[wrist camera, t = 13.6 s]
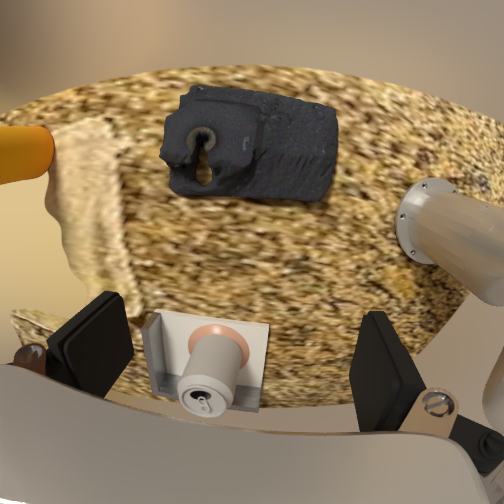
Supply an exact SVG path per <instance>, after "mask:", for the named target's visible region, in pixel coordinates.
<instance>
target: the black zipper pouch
mask: <svg viewBox="0 0 504 504" xmlns="http://www.w3.org/2000/svg"><path fill="white" fill-rule="evenodd" d="M337 131H338V120H337V118H336V115H335V109H334V108H331V107H328V106H324V105H322V104H319V103H312V102H305V101H303V100H301V99H295V98H293V97H286V96H283V95H278V94H273V93H267V92H261V91H253V90H245V89H236V88H224V87H212V86H207V85H204V86H199V85H193V86H191V87H190V91H189V92H188V93H187V94H186V95H181V96H180V105H179V110H176V111H175V112H174V113H173V114H171V115H169V116H167V117H166V120H165V125H164V140H163V145H162V147H161V148H160V155H159V157H160V158H161V159H163V160H164V161H165V162H166V164H167V165H168V166H169V167H172V169H171V170H170V173H169V174H170V181H169V182H170V189H171V190H173V191H174V192H175V193H178V194H180V193H181V194H184V195H203V196H241V197H242V198H253V199H264V198H266V199H267V198H273V199H280V198H281V199H295V200H299V201H303V202H310V201H316V202H317V201H320V200H321V199H322V198H323V197H324V195H325V194H326V192H327V191H328V189H329V186H330V182H331V179H332V174H333V171H334V169H335V157H336V153H337V148H338V144H337V142H338V137H337V133H336V132H337ZM203 143H204V151H205V153H206V154H207V160H208V165H209V167H210V168H211V171H212V181H211V182H210V183H208V184H207V185H203V184H200V183H199V182H198V181H197V179H196V166H197V164H198V162H199V157H198V154H199V152H200V147H201V144H203Z"/></svg>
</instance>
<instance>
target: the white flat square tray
mask: <svg viewBox="0 0 504 504" xmlns="http://www.w3.org/2000/svg"><path fill="white" fill-rule="evenodd" d="M154 312H158V313H161V321H162V332H163V342H164V351H165V359H166V367H167V373H170V374H175V375H180V376H182V374H183V372H184V369H185V367H186V365H187V363H188V360H189V358H190V356H191V354H192V351H193V349H194V347H195V344H196V343H197V341H198V340H199V339H200V338H202V337H203V336H206V335H210V334H219V335H223V336H226V337H228V338H230V339H232V340H233V341H234V342H235V343H236V344H237V345H238V346H239V348H240V350H241V355H242V358H241V364H240V369H239V374H238V379H237V384H236V385H242V386H251V387H260V388H261V384H262V377H263V370H264V362H265V355H266V347H267V339H268V331H269V324H264V323H254V322H245V321H237V320H229V319H221V318H213V317H206V316H199V315H192V314H185V313H179V312H173V311H167V310H161V309H156V310H155V311H154Z"/></svg>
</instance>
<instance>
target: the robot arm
mask: <svg viewBox="0 0 504 504" xmlns="http://www.w3.org/2000/svg"><path fill="white" fill-rule="evenodd" d="M422 185H423V187H422ZM401 215H402V217H400V216H401ZM395 230H396V236H397V239H398V242H399V244H400V246H401V248H402V249H403V251H404V252H405V253H406V254H407V255H408V256H409V257H410V258H412V259H413V260H415V261H416V262H419V263H422V264H437V265H438V266H440V267H441V268H442V269H443V270H445V271H446V272H447V273H449V274H450V275H451V276H452V277H454V278H455V279H456V280H457V281H458V282H460V283H461V284H462V285H463V286H465V287H466V288H467V289H468V290H469V291H471V292H472V293H473V294H474V295H476V296H477V297H478V298H479V299H480V300H482V301H483V302H485V303H487V304H489V305H492V306H504V208H503V207H500V206H497V205H494V204H491V203H487V202H484V201H481V200H477V199H474V198H470V197H467V196H463V195H461V194H460V192H459V191H458V190H457V188H456V187H455V186H454V185H453V184H451V183H450V182H448V181H446V180H444V179H441V178H431V177H429V178H424V179H421V180H419V181H417V182H415V183H414V184H413V185H412V186H410V187H409V188H408V189H407V191H406V192H405V193H404V195H403V196H402V198H401V200H400V202H399V205H398V207H397V211H396V216H395ZM411 251H412V252H411ZM46 341H47V344H48V347H49V348H48V349H47V350H46V348H45V347H44V346H43V345H42V344H39V343H30V344H27V345H25V346H23V347H21V348H20V349H18V351H17V352H16V353H15V356H14V360H13V363H8V364H0V504H504V347H503V350H502V352H501V354H500V356H499V358H498V360H497V362H496V364H495V366H494V368H493V370H492V372H491V374H490V376H489V379H488V381H487V383H486V386H485V389H484V392H483V399H482V404H483V411H484V414H485V417H486V419H487V420H488V422H489V423H490V425H491V426H492V427H493V428H494V429H495V430H496V431H494V430H492V429H490V428H488V427H485V426H483V425H481V424H478V423H476V422H474V421H472V420H470V419H467V418H465V417H463V416H461V415H459V414H457V413H458V409H459V405H458V402H457V400H456V398H455V397H454V396H453V395H452V394H451V393H450V392H448V391H446V390H444V389H440V388H430V389H426V386H425V384H424V382H423V380H422V378H421V376H420V374H419V372H418V370H417V368H416V366H415V364H414V362H413V360H412V358H411V356H410V354H409V352H408V350H407V349H406V347H405V346H404V345H403V344H402V343H401V341H400V339H399V337H398V335H397V333H396V331H395V330H394V328H393V326H392V324H391V322H390V320H389V319H388V317H387V315H386V313H385V312H384V311H369V312H368V314H367V315H364V316H363V318H362V322H361V327H360V331H359V336H358V340H357V344H356V348H355V352H354V356H353V360H352V364H351V367H350V371H349V380H350V385H351V390H352V394H353V399H354V404H355V409H356V414H357V419H358V424H359V430H360V432H343V433H308V432H306V433H305V432H304V433H303V432H279V431H265V430H254V429H244V428H236V427H227V426H220V425H214V424H208V423H201V422H196V421H191V420H185V419H180V418H176V417H171V416H166V415H162V414H158V413H154V412H150V411H146V410H142V409H138V408H135V407H131V406H127V405H124V404H121V403H117V402H114V401H111V400H108V399H104V397H105V395H106V394H107V393H108V391H109V390H110V388H111V387H112V386H113V384H114V383H115V381H116V380H117V379H118V377H119V376H120V375H121V373H122V372H123V370H124V369H125V368H126V366H127V365H128V363H129V362H130V361H131V359H132V358H133V356H134V348H133V343H132V339H131V335H130V330H129V326H128V321H127V316H126V311H125V306H124V301H123V298H122V297H121V296H120V295H119V293H118V292H111V291H104V292H103V293H102V294H100V295H99V296H98V297H97V298H95V299H94V300H93V301H92V302H90V303H89V304H88V305H87V306H86V307H84V308H83V309H82V310H81V311H80V312H78V313H77V314H76V315H75V316H74V317H73V318H71V319H70V320H69V321H68V322H66V323H65V324H64V325H63V326H62V327H61V328H59V329H58V330H57V331H56V332H55V333H54V334H53V335H51V336H50V337H49V338H48V339H47V340H46Z"/></svg>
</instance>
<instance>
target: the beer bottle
mask: <svg viewBox="0 0 504 504" xmlns="http://www.w3.org/2000/svg"><path fill="white" fill-rule="evenodd" d="M53 154H54V143H53V139H52V136H51V134H50V132H49V131H48V130H47V129H45V128H43V127H39V126H7V127H0V185H1V184H6V183H11V182H16V181H21V180H28V179H34V178H38V177H40V176H42V175H43V174H44V173H45V172H46V171H47V170H48V168H49V167H50V164H51V162H52V159H53Z"/></svg>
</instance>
